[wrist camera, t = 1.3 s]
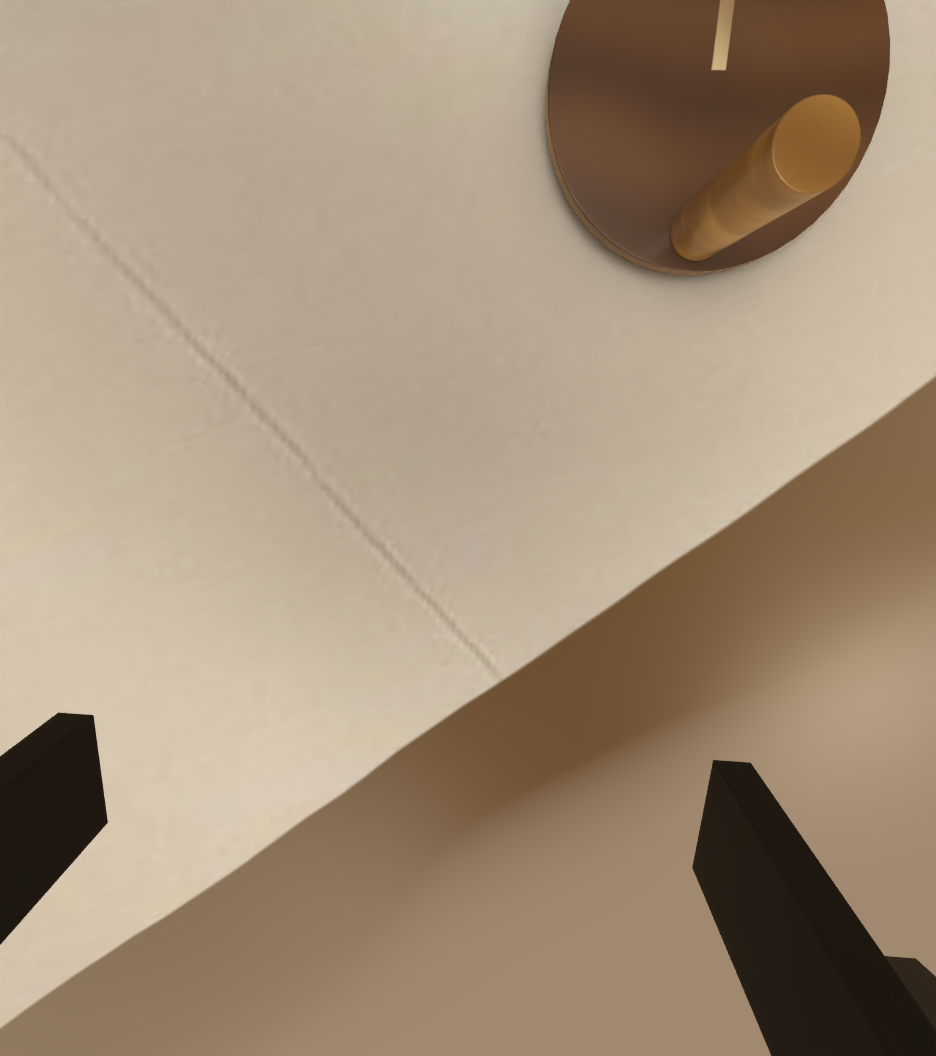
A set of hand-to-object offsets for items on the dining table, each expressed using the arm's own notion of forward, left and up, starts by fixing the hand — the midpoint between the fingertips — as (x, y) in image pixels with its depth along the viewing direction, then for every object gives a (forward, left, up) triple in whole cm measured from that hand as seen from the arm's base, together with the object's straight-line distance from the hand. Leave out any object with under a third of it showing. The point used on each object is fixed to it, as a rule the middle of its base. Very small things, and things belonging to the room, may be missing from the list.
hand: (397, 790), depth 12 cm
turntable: (-23, +12, -24) cm, 36 cm away
